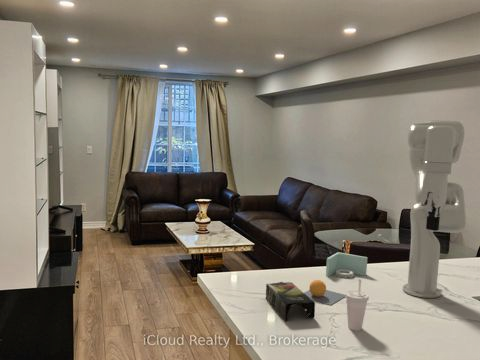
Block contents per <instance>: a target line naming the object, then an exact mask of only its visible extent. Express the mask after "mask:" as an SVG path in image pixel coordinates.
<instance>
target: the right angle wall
mask: <svg viewBox="0 0 480 360" xmlns="http://www.w3.org/2000/svg"><path fill="white" fill-rule="evenodd" d="M325 265H326V268H325V277H330V276H331V275H332V274H334V273H335V276H336V277H339V278H343V279H347V278H349V279H350V278H354V276H355V274H357V275H362V276H367V272H368V271H367V268H368V257H367V256H361V255H356V254H350V253H345V252H339V251H338V252H336V253H334V254H331V256H329V257H327V258H326V264H325Z"/></svg>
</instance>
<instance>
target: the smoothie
mask: <svg viewBox="0 0 480 360" xmlns="http://www.w3.org/2000/svg"><path fill="white" fill-rule="evenodd" d="M361 284H362V279H358V290H349V291H346V292H345V294H344V295H345V297H344V298H345V299H346V312H347V313H346V314H347V316H346V317H347V327H348V329H349V330H352V331H356V332H359V331H362V329H363V324H364V319H365V314H366V309H367V304H368V301H369V298H370V297H369V296H370V295H369V294H368V293H365V292H363V291H361V289H362V285H361Z"/></svg>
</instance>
